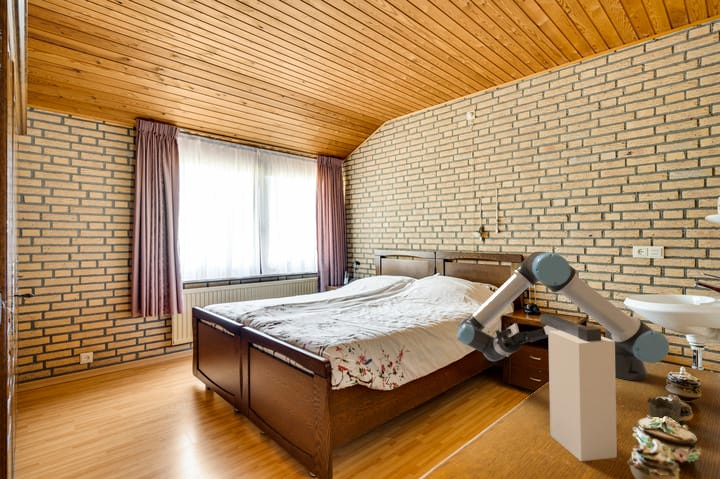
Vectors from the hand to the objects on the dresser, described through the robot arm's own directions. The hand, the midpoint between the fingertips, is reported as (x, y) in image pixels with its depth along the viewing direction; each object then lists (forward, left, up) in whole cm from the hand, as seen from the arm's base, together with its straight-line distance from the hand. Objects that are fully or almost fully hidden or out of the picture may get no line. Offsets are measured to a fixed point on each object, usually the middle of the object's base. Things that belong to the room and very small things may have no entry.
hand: (536, 326), depth 116 cm
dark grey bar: (+6, +12, +2) cm, 13 cm away
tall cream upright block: (+9, +16, -28) cm, 33 cm away
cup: (-18, +28, -28) cm, 43 cm away
